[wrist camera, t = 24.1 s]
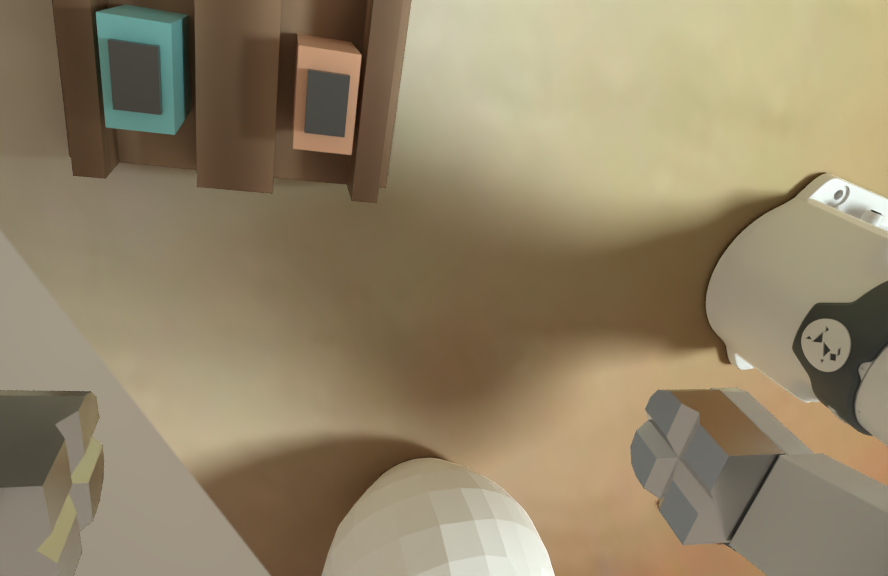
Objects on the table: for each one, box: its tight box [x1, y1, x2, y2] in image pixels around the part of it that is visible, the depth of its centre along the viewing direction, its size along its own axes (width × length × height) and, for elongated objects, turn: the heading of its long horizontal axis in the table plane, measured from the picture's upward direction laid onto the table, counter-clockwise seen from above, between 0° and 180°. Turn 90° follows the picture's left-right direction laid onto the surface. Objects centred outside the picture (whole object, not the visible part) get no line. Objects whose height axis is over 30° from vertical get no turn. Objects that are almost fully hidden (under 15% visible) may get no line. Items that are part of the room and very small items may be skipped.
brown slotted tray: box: [52, 0, 411, 203], centre depth 32 cm, size 18×12×4 cm, turn 80°
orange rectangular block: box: [292, 33, 362, 155], centre depth 31 cm, size 3×5×6 cm, turn 170°
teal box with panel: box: [96, 4, 191, 135], centre depth 29 cm, size 3×5×6 cm, turn 170°
